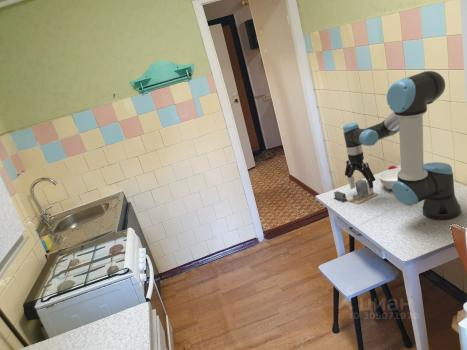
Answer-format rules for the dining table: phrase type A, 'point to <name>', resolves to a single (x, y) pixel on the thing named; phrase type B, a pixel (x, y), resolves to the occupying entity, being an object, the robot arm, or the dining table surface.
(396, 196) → the robot arm
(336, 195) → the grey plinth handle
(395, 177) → the bowl
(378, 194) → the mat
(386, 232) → the dining table surface
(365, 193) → the bent metal sheet
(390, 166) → the bracket
